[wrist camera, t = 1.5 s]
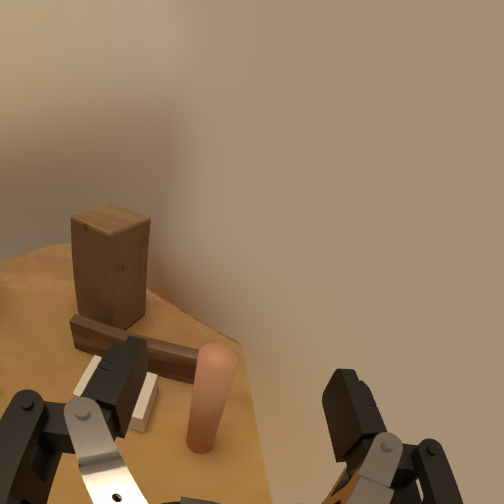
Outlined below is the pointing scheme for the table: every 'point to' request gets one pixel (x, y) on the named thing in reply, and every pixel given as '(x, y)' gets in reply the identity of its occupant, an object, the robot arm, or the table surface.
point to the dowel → (209, 394)
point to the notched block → (143, 402)
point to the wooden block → (110, 264)
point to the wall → (158, 352)
